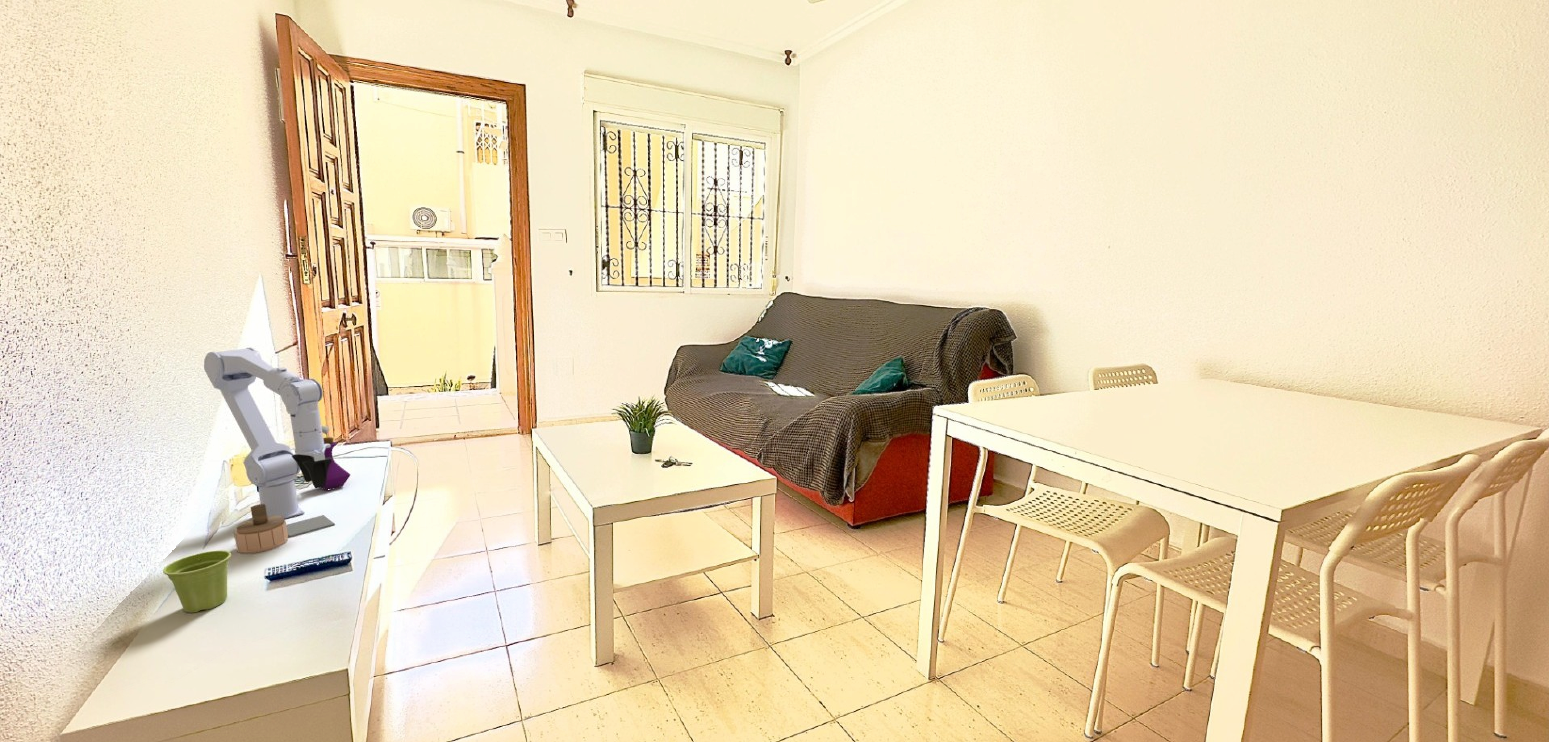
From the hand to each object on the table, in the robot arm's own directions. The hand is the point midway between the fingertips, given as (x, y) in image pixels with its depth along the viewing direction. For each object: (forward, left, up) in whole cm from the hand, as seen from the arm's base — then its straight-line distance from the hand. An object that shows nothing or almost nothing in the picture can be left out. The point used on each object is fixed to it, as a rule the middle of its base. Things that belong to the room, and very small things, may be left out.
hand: (315, 483), depth 156 cm
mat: (0, -3, -10) cm, 10 cm away
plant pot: (+30, -26, -10) cm, 41 cm away
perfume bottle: (-29, +10, -10) cm, 32 cm away
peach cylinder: (+5, -12, -10) cm, 17 cm away
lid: (+5, -12, -6) cm, 14 cm away
